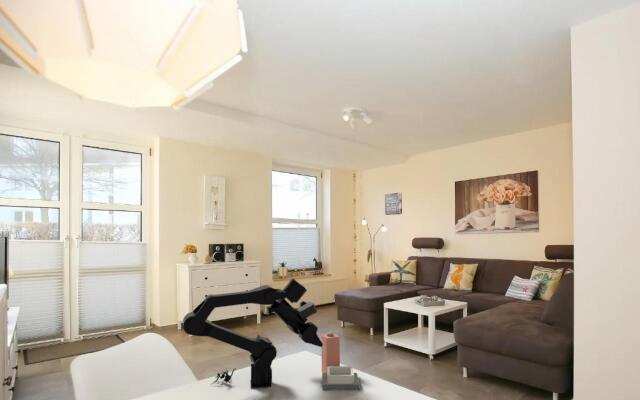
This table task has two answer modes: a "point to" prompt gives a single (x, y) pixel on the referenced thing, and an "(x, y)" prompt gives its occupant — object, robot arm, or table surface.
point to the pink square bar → (330, 350)
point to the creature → (224, 376)
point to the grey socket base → (340, 378)
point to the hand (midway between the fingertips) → (317, 342)
